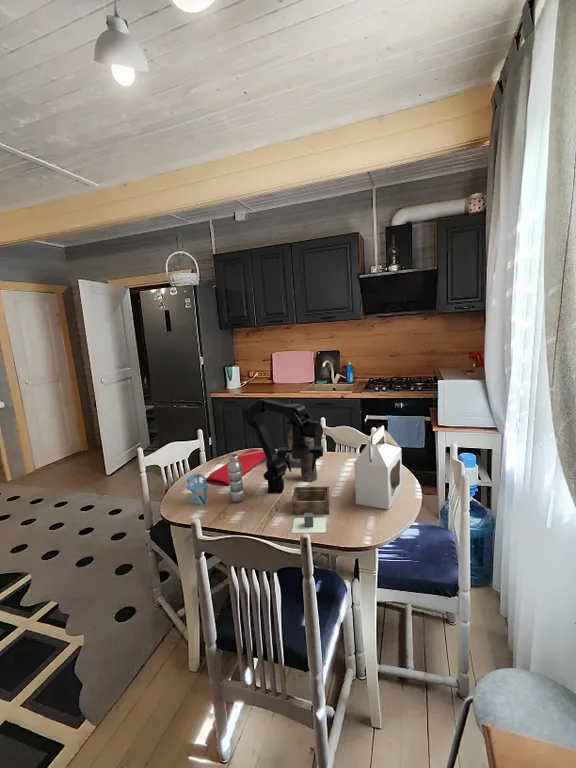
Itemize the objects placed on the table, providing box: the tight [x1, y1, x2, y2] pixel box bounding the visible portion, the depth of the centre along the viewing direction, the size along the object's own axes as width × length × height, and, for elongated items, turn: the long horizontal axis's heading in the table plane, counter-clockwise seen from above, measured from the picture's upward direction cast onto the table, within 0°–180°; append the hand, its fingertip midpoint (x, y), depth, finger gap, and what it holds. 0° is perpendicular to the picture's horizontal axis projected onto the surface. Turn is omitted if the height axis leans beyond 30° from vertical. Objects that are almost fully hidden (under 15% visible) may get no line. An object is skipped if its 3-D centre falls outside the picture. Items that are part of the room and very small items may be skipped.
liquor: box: [287, 429, 301, 469], centre depth 194 cm, size 9×9×30 cm
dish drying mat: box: [202, 448, 267, 487], centre depth 198 cm, size 16×41×4 cm, turn 153°
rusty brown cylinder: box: [300, 437, 318, 482], centre depth 177 cm, size 8×7×20 cm
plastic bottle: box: [227, 453, 246, 503], centre depth 160 cm, size 6×7×20 cm
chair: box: [185, 473, 209, 507], centre depth 162 cm, size 8×8×12 cm
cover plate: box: [291, 513, 327, 534], centre depth 138 cm, size 12×10×5 cm
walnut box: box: [291, 485, 331, 515], centre depth 151 cm, size 14×11×6 cm
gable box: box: [353, 424, 403, 510], centre depth 155 cm, size 22×13×28 cm, turn 151°
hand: (301, 471), depth 157 cm, fingers open, 9 cm apart
